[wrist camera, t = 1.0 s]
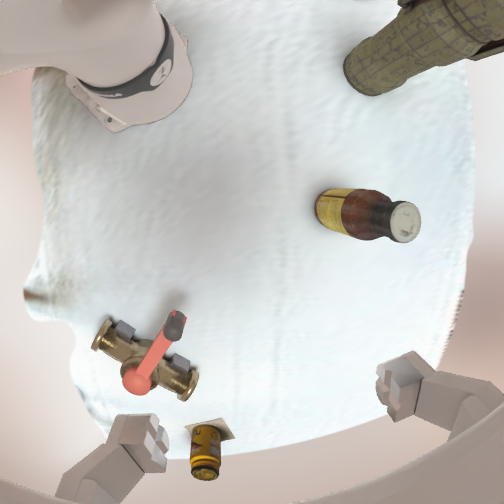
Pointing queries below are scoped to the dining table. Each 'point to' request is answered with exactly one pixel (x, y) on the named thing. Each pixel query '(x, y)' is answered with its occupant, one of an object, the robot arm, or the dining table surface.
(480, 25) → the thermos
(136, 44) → the robot arm
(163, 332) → the lever
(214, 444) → the condiment
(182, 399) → the valve body
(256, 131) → the dining table surface
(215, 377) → the dining table surface
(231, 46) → the dining table surface
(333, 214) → the sauce bottle
